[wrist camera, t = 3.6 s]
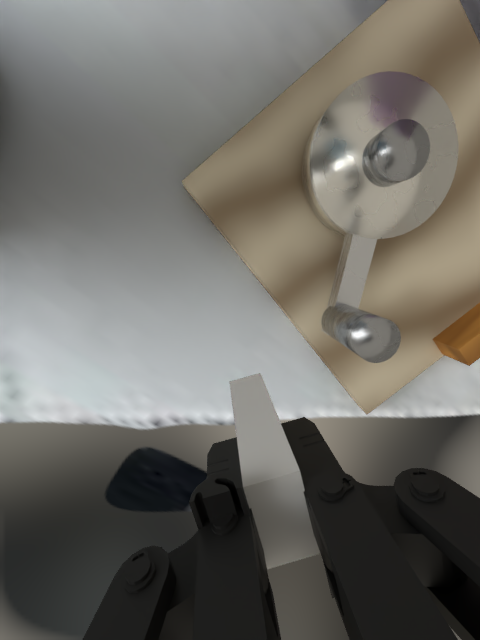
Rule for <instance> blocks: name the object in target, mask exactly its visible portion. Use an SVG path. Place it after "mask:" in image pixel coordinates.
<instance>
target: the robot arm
mask: <svg viewBox="0 0 480 640" xmlns="http://www.w3.org/2000/svg"><path fill="white" fill-rule="evenodd" d="M229 382H230V389H231V397H232V405H233V413H234V421H235V428H236V436H237V437H236V438H232V439H229V440H225V441H222V442H218V443H214V444H213V445H212V447H211V449H210V451H209V453H208V456H207V466H208V467H207V479H206V480H205V481H203V482H202V483H201V484H200V485H198V486H197V488H196V489H195V490H194V492H193V493H192V495H191V498H190V501H189V504H190V507H191V509H192V512H193V515H194V518H195V521H196V524H197V526H198V531H197V533H196V534H195V535H194V536H193V537H192V538H191V539H189V540H188V541H187V542H185V543H184V544H183V545H181V546H179V547H178V548H176V549H174V550H173V551H171V552H170V553H167V552H166V551H165V550H164V549H163V548H162V547H158V546H150V547H146V548H143V549H141V550H139V551H138V552H136V553H134V554H132V555H131V556H130V557H129V558H128V559H127V560H126V561H125V562H124V563H123V564H122V566H121V567H120V569H119V570H118V572H117V573H116V575H115V576H114V578H113V580H112V582H111V584H110V586H109V588H108V590H107V593H106V594H105V596H104V598H103V600H102V602H101V604H100V606H99V608H98V610H97V612H96V614H95V616H94V618H93V620H92V622H91V624H90V626H89V628H88V630H87V632H86V634H85V636H84V638H83V640H281V636H280V630H279V625H278V619H277V614H276V608H275V603H274V597H273V592H272V589H271V585H270V582H269V579H268V573H267V569H270V568H273V567H277V566H280V565H284V564H287V563H290V562H294V561H297V560H300V559H304V558H307V557H310V556H314V555H317V554H320V553H321V556H322V559H323V562H324V566H325V570H326V575H327V579H328V583H329V587H330V591H331V595H332V598H335V600H336V603H337V606H338V609H339V611H340V614H341V617H342V620H343V623H344V626H345V628H346V631H347V634H348V637H349V640H458V639H457V638H456V636H455V635H454V633H453V631H452V630H451V628H452V629H453V630H454V632H455V633H456V634H457V635H458V636H459V637H460V638H461V639H462V640H480V498H478V497H477V496H475V495H474V494H472V493H471V492H469V491H468V490H466V489H465V488H463V487H462V486H460V485H459V484H457V483H456V482H454V481H452V480H451V479H449V478H447V477H446V476H444V475H442V474H440V473H438V472H436V471H432V470H428V469H424V468H412V469H408V470H406V471H403V472H401V473H400V474H399V475H398V476H397V477H396V479H395V483H394V486H370V485H365V484H361V483H359V482H357V481H356V480H355V479H354V478H353V477H352V476H350V475H348V474H346V473H345V472H344V471H343V470H342V468H341V466H340V465H339V463H338V461H337V460H336V458H335V457H334V455H333V453H332V452H331V450H330V448H329V447H328V445H327V443H326V442H325V441H324V439H323V437H322V435H321V434H320V432H319V430H318V429H317V427H316V425H315V424H314V423H313V422H311V421H310V420H308V419H306V418H305V417H303V418H300V419H296V420H292V421H289V422H286V423H282V424H281V423H280V420H279V418H278V415H277V413H276V411H275V408H274V406H273V403H272V401H271V398H270V396H269V393H268V391H267V388H266V386H265V384H264V381H263V379H262V376H261V374H260V373H259V374H255V375H251V376H248V377H244V378H240V379H237V380H233V381H229ZM319 550H320V551H319ZM266 566H267V567H266ZM449 626H450V627H451V628H450V627H449Z"/></svg>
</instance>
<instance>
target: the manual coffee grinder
mask: <svg viewBox="0 0 480 640" xmlns="http://www.w3.org/2000/svg"><path fill="white" fill-rule="evenodd" d="M457 161H458V135H457V130H456V125H455V122H454V119H453V116H452V113H451V111H450V109H449V107H448V105H447V104H446V102H445V101H444V99H443V98H442V96H441V95H440V94H439V93H438V92H437V91H436V90H435V89H434V88H433V87H432V86H431V85H429V84H428V83H427V82H425V81H424V80H422V79H420V78H418V77H416V76H413V75H411V74H407V73H403V72H393V71H388V72H379V73H375V74H371V75H368V76H366V77H364V78H361V79H359V80H358V81H356V82H354V83H353V84H351V85H350V86H348V87H347V88H346V89H345V90H344V91H342V92H341V93H340V94H339V95H338V97H337V98H336V99H335V100H334V101H333V102H332V103H331V105H330V106H329V107H328V109H327V110H326V111H325V112H324V114H323V115H322V116H321V117H320V119H319V120H318V122H317V123H316V124H315V126H314V128H313V130H312V131H311V133H310V136H309V138H308V140H307V143H306V146H305V150H304V154H303V161H302V182H303V187H304V192H305V195H306V198H307V201H308V203H309V205H310V207H311V209H312V211H313V212H314V214H315V215H316V217H317V218H318V219H319V220H320V221H321V223H322V224H324V225H325V226H326V227H327V228H328V229H330V230H331V231H333V232H334V233H336V234H338V235H340V236H342V237H344V241H343V245H342V249H341V253H340V257H339V261H338V265H337V269H336V273H335V277H334V281H333V285H332V289H331V293H330V297H329V301H328V305H327V309H326V310H325V311H324V313H323V315H322V319H321V325H322V329H321V331H322V332H324V333H325V334H327V335H329V336H331V337H332V338H333V339H335V340H336V341H338V342H339V343H341V344H342V345H344V346H345V347H347V348H348V349H350V350H351V351H352V352H354V353H355V354H357V355H358V356H360V357H361V358H363V359H364V360H366V361H368V362H371V363H381V362H384V361H386V360H388V359H390V358H391V357H392V356H393V355H394V354H395V353H396V352H397V350H398V348H399V346H400V342H401V334H400V330H399V328H398V326H397V325H396V324H395V323H394V322H392V321H391V320H388V319H386V318H383V317H380V316H377V315H375V314H372V313H369V312H366V311H364V310H361V309H358V308H359V305H360V301H361V297H362V294H363V290H364V286H365V283H366V279H367V275H368V272H369V268H370V264H371V260H372V257H373V253H374V249H375V246H376V242H377V239H385V238H392V237H396V236H399V235H403V234H405V233H407V232H409V231H411V230H413V229H415V228H416V227H418V226H420V225H421V224H422V223H423V222H425V221H426V220H427V219H428V218H429V217H430V216H431V215H432V214H433V213H434V212H435V211H436V210H437V208H438V207H439V206H440V205H441V203H442V201H443V200H444V198H445V197H446V195H447V193H448V191H449V189H450V187H451V184H452V181H453V179H454V175H455V171H456V167H457Z"/></svg>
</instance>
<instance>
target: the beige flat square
mask: <svg viewBox="0 0 480 640" xmlns="http://www.w3.org/2000/svg"><path fill="white" fill-rule="evenodd" d="M388 71H393V72H403V73H407V74H411V75H413V76H416V77H418V78H420V79H422V80H424V81H425V82H427V83H428V84H429V85H431V86H432V87H433V88H434V89H435V90H436V91H437V92H438V93H439V94H440V95H441V96H442V98H443V99H444V101H445V102H446V104H447V105H448V107H449V109H450V111H451V113H452V116H453V119H454V122H455V125H456V130H457V135H458V161H457V167H456V171H455V175H454V179H453V181H452V184H451V187H450V189H449V191H448V193H447V195H446V197H445V198H444V200H443V201H442V203H441V205H440V206H439V207H438V208H437V210H436V211H435V212H434V213H433V214H432V215H431V216H430V217H429V218H428V219H427V220H426V221H425V222H423V223H422V224H421V225H420V226H418V227H416V228H415V229H413V230H411V231H409V232H407V233H405V234H403V235H399V236H396V237H392V238H385V239H377V242H376V246H375V249H374V253H373V257H372V260H371V264H370V268H369V272H368V275H367V279H366V283H365V286H364V290H363V294H362V297H361V301H360V305H359V308H358V309H361V310H364V311H366V312H369V313H372V314H375V315H377V316H380V317H383V318H386V319H388V320H391V321H392V322H394V323H395V324H396V325H397V326H398V328H399V330H400V334H401V342H400V346H399V348H398V350H397V352H396V353H395V354H394V355H393V356H392V357H391V358H390V359H388V360H386V361H384V362H381V363H371V362H368V361H366V360H364V359H363V358H361V357H360V356H358V355H357V354H355V353H354V352H352V351H351V350H350V349H348V348H347V347H345V346H344V345H342V344H341V343H339V342H338V341H336V340H335V339H333V338H332V337H331V336H329V335H327V334H325V333H324V332H322V331H321V329H322V325H321V319H322V315H323V313H324V311H325V310H326V309H327V305H328V301H329V297H330V293H331V289H332V285H333V281H334V277H335V273H336V269H337V265H338V261H339V257H340V253H341V249H342V245H343V241H344V237H342V236H340V235H338V234H336V233H334V232H333V231H331V230H330V229H328V228H327V227H326V226H325V225H324V224H322V223H321V221H320V220H319V219H318V218H317V217H316V215H315V214H314V212H313V211H312V209H311V207H310V205H309V203H308V201H307V198H306V195H305V192H304V187H303V182H302V161H303V154H304V150H305V146H306V143H307V140H308V138H309V136H310V133H311V131H312V130H313V128H314V126H315V124H316V123H317V122H318V120H319V119H320V117H321V116H322V115H323V114H324V112H325V111H326V110H327V109H328V107H329V106H330V105H331V103H332V102H333V101H334V100H335V99H336V98H337V97H338V95H339V94H340V93H341V92H342V91H344V90H345V89H346V88H347V87H348V86H350V85H351V84H353V83H354V82H356V81H358V80H359V79H361V78H364V77H366V76H368V75H371V74H375V73H379V72H388ZM182 183H183V186H184V187H185V189H186V190H187V191H188V192H189V194H190V195H191V196H192V198H193V199H194V200H195V201H196V203H197V204H198V205H199V206H200V208H201V209H202V210H203V211H204V213H205V214H206V215H207V216H208V218H209V219H210V220H211V221H212V223H213V224H214V225H215V226H216V228H217V229H218V230H219V231H220V233H221V234H222V235H223V236H224V238H225V239H226V240H227V241H228V243H229V244H230V245H231V246H232V248H233V249H234V250H235V252H236V253H237V254H238V255H239V257H240V258H241V259H242V260H243V262H244V263H245V264H246V265H247V267H248V268H249V269H250V270H251V272H252V273H253V274H254V275H255V277H256V278H257V279H258V280H259V282H260V283H261V284H262V285H263V287H264V288H265V289H266V290H267V292H268V293H269V294H270V295H271V297H272V298H273V299H274V300H275V302H276V303H277V304H278V306H279V307H280V308H281V309H282V311H283V312H284V313H285V314H286V316H287V317H288V318H289V319H290V321H291V322H292V323H293V324H294V326H295V327H296V328H297V329H298V331H299V332H300V333H301V334H302V336H303V337H304V338H305V339H306V341H307V342H308V343H309V344H310V346H311V347H312V348H313V349H314V351H315V352H316V353H317V354H318V356H319V357H320V358H321V360H322V361H323V362H324V363H325V365H326V366H327V367H328V368H329V370H330V371H331V372H332V373H333V375H334V376H335V377H336V378H337V380H338V381H339V382H340V383H341V385H342V386H343V387H344V388H345V390H346V391H347V392H348V393H349V395H350V396H351V397H352V398H353V400H354V401H355V402H356V403H357V405H358V406H359V407H360V408H361V409H362V410H363V411H364V412H365V413H366V414H368V413H370V412H371V411H372V410H374V409H375V408H376V407H377V406H379V405H380V404H381V403H383V402H384V401H385V400H387V399H388V398H389V397H391V396H392V395H393V394H394V393H396V392H397V391H398V390H400V389H401V388H402V387H404V386H405V385H406V384H407V383H409V382H410V381H411V380H413V379H414V378H415V377H417V376H418V375H419V374H421V373H422V372H423V371H424V370H426V369H427V368H428V367H430V366H431V365H432V364H434V363H435V362H436V361H438V360H439V359H440V358H441V357H443V356H444V355H446V356H448V357H450V358H453V359H455V360H457V361H460V362H462V363H464V364H467V365H469V366H470V365H471V364H472V363H474V362H475V361H476V360H478V359H479V358H480V43H479V41H478V38H477V36H476V34H475V32H474V30H473V28H472V26H471V24H470V22H469V19H468V17H467V15H466V13H465V11H464V9H463V7H462V5H461V2H460V0H388V1H387V2H386V3H384V4H383V5H382V6H381V7H380V8H379V9H378V10H376V11H375V12H374V13H373V14H372V15H371V16H370V17H368V18H367V19H366V20H365V21H364V22H363V23H362V24H360V25H359V26H358V27H357V28H356V29H355V30H354V31H353V32H351V33H350V34H349V35H348V36H347V37H346V38H345V39H343V40H342V41H341V42H340V43H339V44H338V45H337V46H335V47H334V48H333V49H332V50H331V51H330V52H329V53H327V54H326V55H325V56H324V57H323V58H322V59H321V60H319V61H318V62H317V63H316V64H315V65H314V66H313V67H311V68H310V69H309V70H308V71H307V72H306V73H305V74H303V75H302V76H301V77H300V78H299V79H298V80H297V81H295V82H294V83H293V84H292V85H291V86H290V87H289V88H287V89H286V90H285V91H284V92H283V93H282V94H281V95H279V96H278V97H277V98H276V99H275V100H274V101H273V102H271V103H270V104H269V105H268V106H267V107H266V108H265V109H263V110H262V111H261V112H260V113H259V114H258V115H257V116H256V117H254V118H253V119H252V120H251V121H250V122H249V123H248V124H246V125H245V126H244V127H243V128H242V129H241V130H240V131H238V132H237V133H236V134H235V135H234V136H233V137H232V138H230V139H229V140H228V141H227V142H226V143H225V144H224V145H222V146H221V147H220V148H219V149H218V150H217V151H216V152H214V153H213V154H212V155H211V156H210V157H209V158H208V159H206V160H205V161H204V162H203V163H202V164H201V165H200V166H198V167H197V168H196V169H195V170H194V171H193V172H192V173H190V174H189V175H188V176H187V177H186V178H185V179H184V180H182Z"/></svg>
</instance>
